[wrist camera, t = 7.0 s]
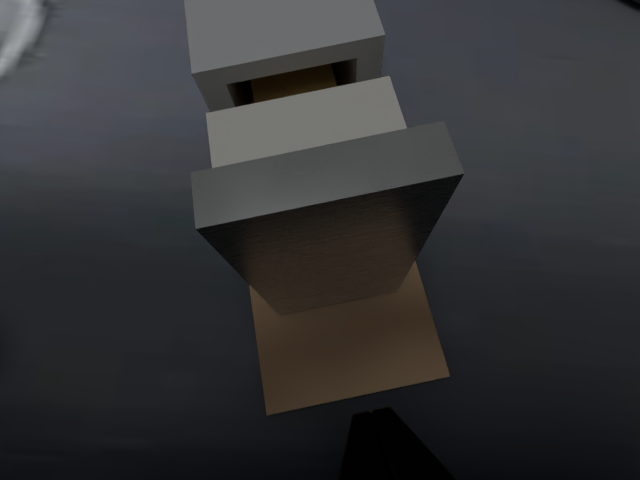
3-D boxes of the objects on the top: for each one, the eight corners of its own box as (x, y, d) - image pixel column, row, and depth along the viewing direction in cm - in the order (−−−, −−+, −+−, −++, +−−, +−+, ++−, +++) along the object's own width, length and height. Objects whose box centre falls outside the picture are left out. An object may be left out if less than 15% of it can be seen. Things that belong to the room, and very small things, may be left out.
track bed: (448, 376, 15) (450, 376, 15) (268, 414, 15) (266, 415, 15) (348, 42, 21) (348, 38, 21) (220, 68, 21) (219, 64, 21)
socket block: (374, 131, 19) (385, 34, 14) (234, 159, 19) (191, 73, 14) (347, 41, 21) (348, -72, 16) (221, 66, 21) (180, -39, 16)
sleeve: (398, 245, 17) (424, 179, 11) (259, 274, 17) (218, 221, 11) (376, 167, 18) (389, 75, 13) (247, 193, 18) (206, 113, 13)
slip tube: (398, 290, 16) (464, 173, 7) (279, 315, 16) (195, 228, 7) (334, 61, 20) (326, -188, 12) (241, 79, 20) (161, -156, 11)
